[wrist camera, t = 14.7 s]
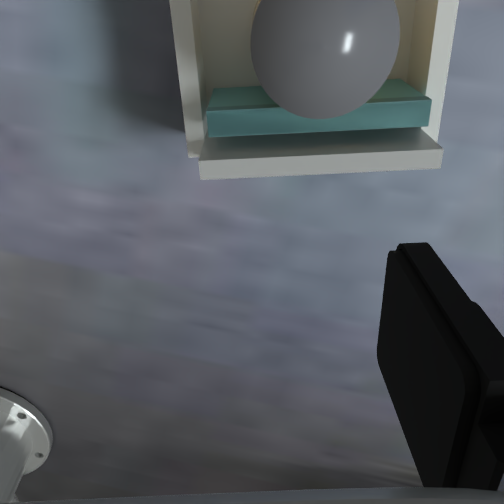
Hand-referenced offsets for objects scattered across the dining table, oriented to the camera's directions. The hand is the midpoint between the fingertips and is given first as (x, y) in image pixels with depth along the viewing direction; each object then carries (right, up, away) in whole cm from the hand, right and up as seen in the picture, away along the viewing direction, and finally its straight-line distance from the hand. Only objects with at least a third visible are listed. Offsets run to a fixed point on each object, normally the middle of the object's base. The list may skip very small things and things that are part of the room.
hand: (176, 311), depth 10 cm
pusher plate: (+5, +11, +18) cm, 21 cm away
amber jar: (+5, +14, +16) cm, 22 cm away
